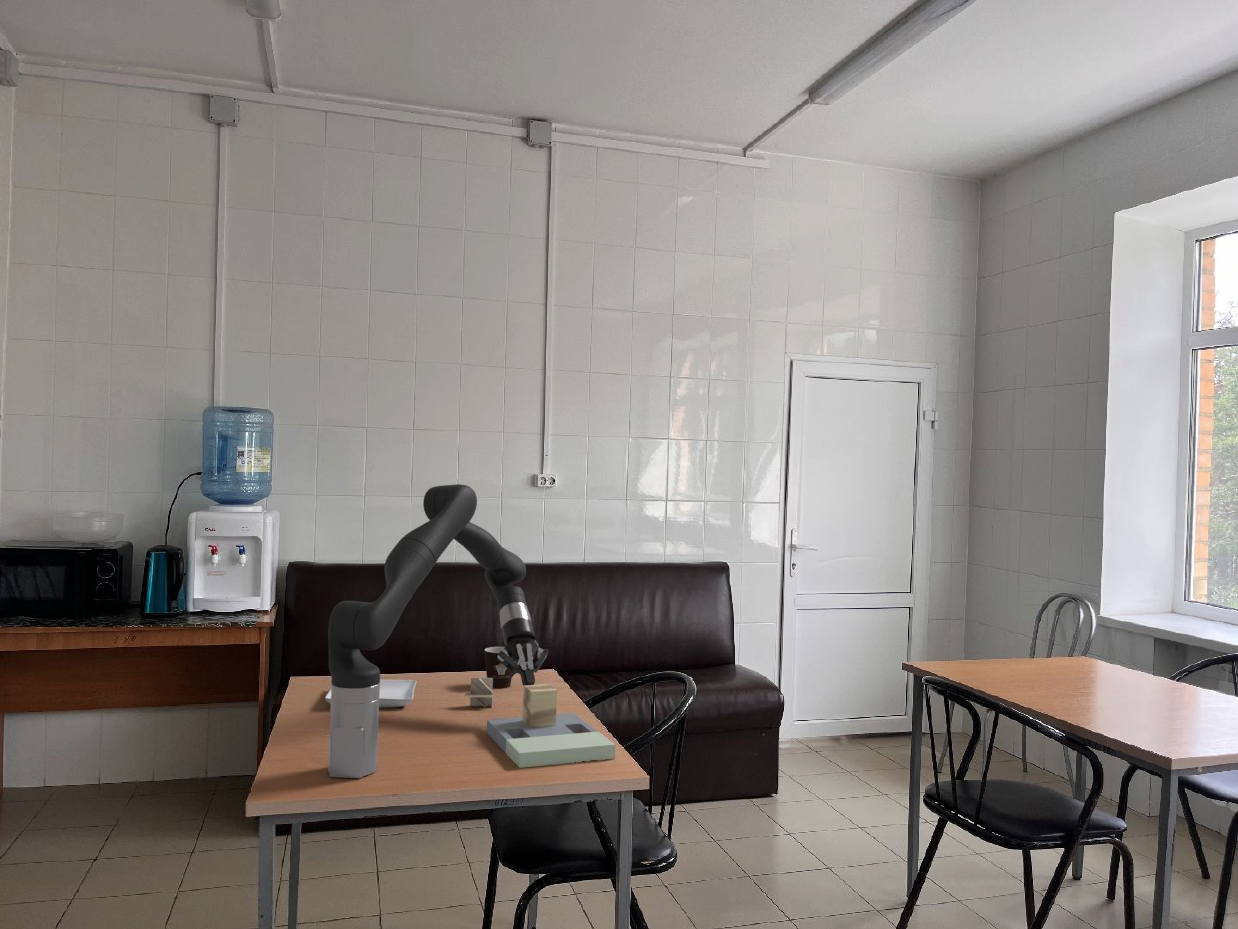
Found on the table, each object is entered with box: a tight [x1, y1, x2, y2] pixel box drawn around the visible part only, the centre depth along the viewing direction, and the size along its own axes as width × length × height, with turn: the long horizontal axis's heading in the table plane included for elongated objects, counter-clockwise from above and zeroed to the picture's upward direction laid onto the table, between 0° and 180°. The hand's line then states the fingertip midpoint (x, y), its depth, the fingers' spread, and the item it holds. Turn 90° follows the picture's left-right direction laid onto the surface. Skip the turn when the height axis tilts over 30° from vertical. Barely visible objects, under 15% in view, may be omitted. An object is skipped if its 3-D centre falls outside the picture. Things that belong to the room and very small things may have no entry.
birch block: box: [522, 683, 558, 728], centre depth 209 cm, size 6×6×8 cm
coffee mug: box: [484, 646, 517, 690], centre depth 256 cm, size 12×9×10 cm
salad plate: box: [324, 678, 418, 709], centre depth 237 cm, size 21×21×3 cm
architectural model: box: [464, 677, 494, 709], centre depth 233 cm, size 3×7×7 cm, turn 94°
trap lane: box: [486, 712, 616, 769], centre depth 203 cm, size 26×21×3 cm
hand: (529, 686), depth 216 cm, fingers closed
